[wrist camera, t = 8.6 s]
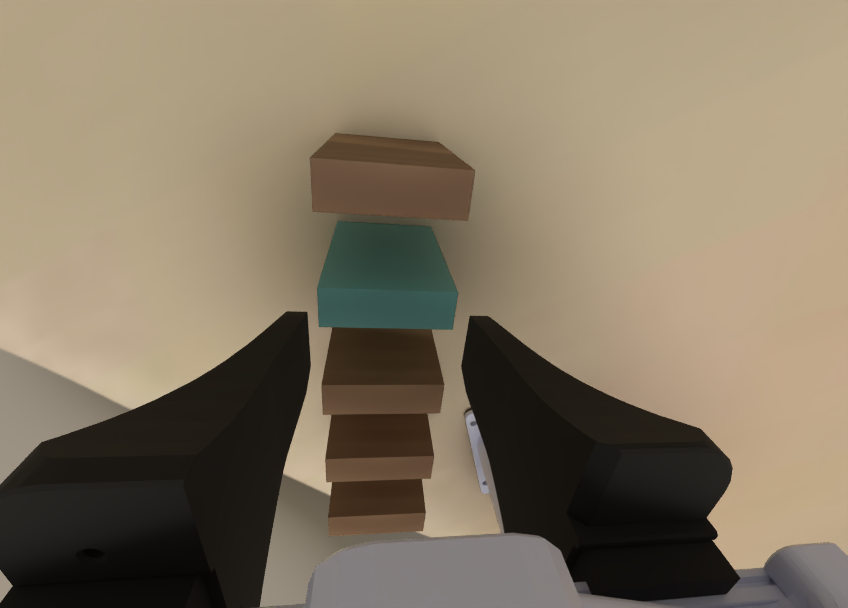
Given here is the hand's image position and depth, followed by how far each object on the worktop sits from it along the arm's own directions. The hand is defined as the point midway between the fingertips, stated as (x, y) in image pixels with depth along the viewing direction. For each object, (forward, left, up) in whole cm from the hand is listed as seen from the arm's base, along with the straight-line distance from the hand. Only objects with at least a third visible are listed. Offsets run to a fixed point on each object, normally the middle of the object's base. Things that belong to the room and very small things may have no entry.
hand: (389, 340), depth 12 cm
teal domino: (0, 0, -10) cm, 10 cm away
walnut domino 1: (+4, -1, -10) cm, 11 cm away
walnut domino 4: (-12, +4, -10) cm, 16 cm away
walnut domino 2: (-4, +1, -10) cm, 11 cm away
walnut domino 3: (-8, +2, -10) cm, 13 cm away
